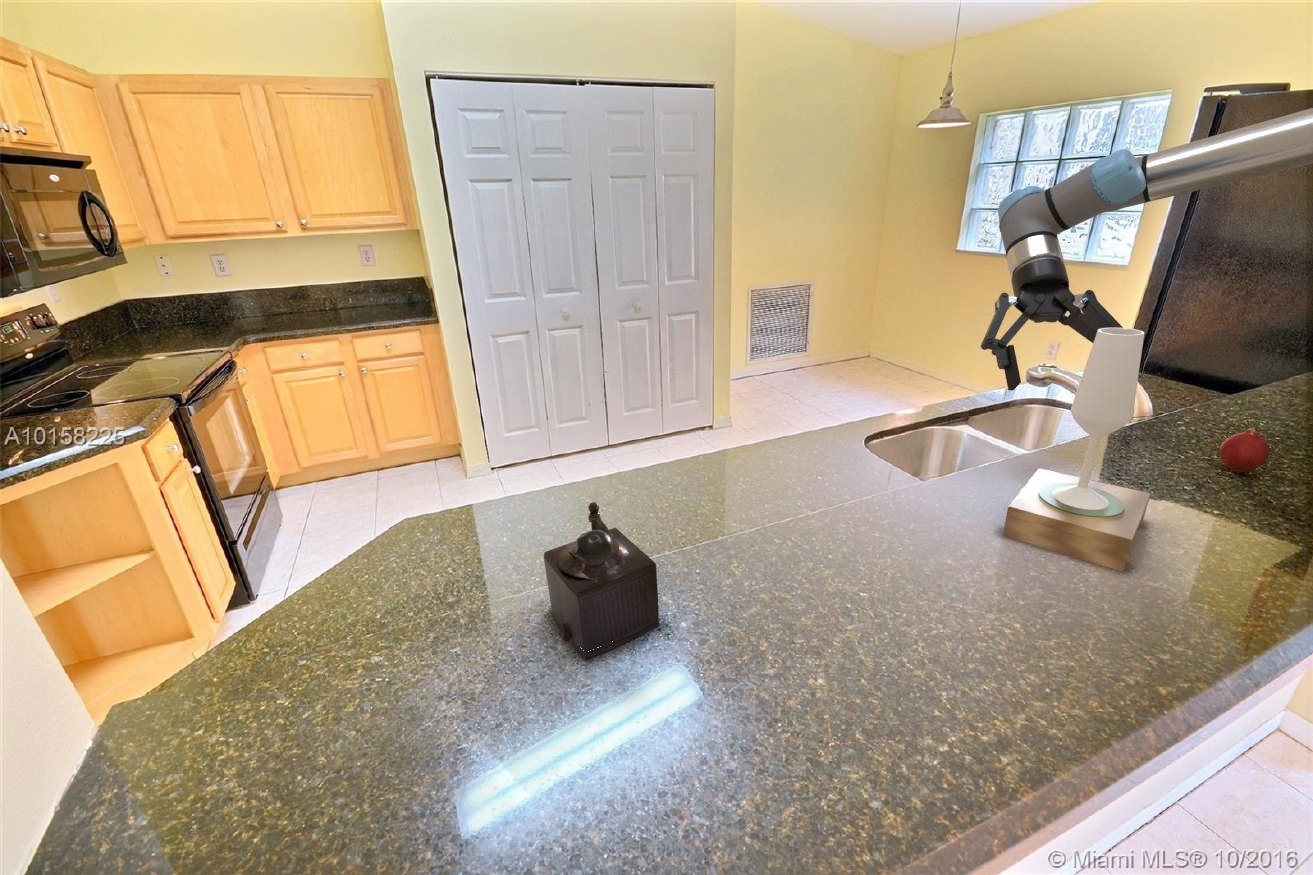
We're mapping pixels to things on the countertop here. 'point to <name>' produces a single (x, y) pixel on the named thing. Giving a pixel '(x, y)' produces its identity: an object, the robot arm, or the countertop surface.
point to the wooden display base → (1077, 520)
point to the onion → (1244, 451)
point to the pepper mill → (601, 589)
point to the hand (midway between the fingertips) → (1063, 386)
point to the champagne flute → (1103, 403)
